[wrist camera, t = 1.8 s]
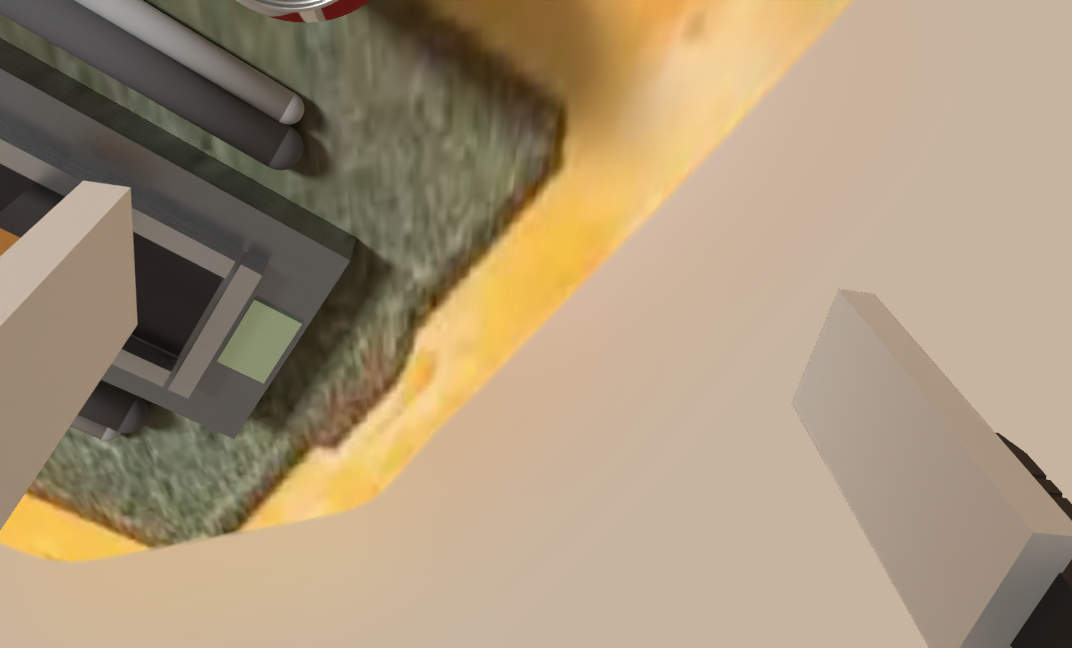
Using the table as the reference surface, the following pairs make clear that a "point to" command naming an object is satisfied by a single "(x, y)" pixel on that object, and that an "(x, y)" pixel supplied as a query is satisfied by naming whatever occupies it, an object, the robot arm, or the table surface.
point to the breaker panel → (177, 244)
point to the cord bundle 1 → (111, 413)
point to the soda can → (303, 9)
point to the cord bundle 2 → (173, 71)
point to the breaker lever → (25, 213)
